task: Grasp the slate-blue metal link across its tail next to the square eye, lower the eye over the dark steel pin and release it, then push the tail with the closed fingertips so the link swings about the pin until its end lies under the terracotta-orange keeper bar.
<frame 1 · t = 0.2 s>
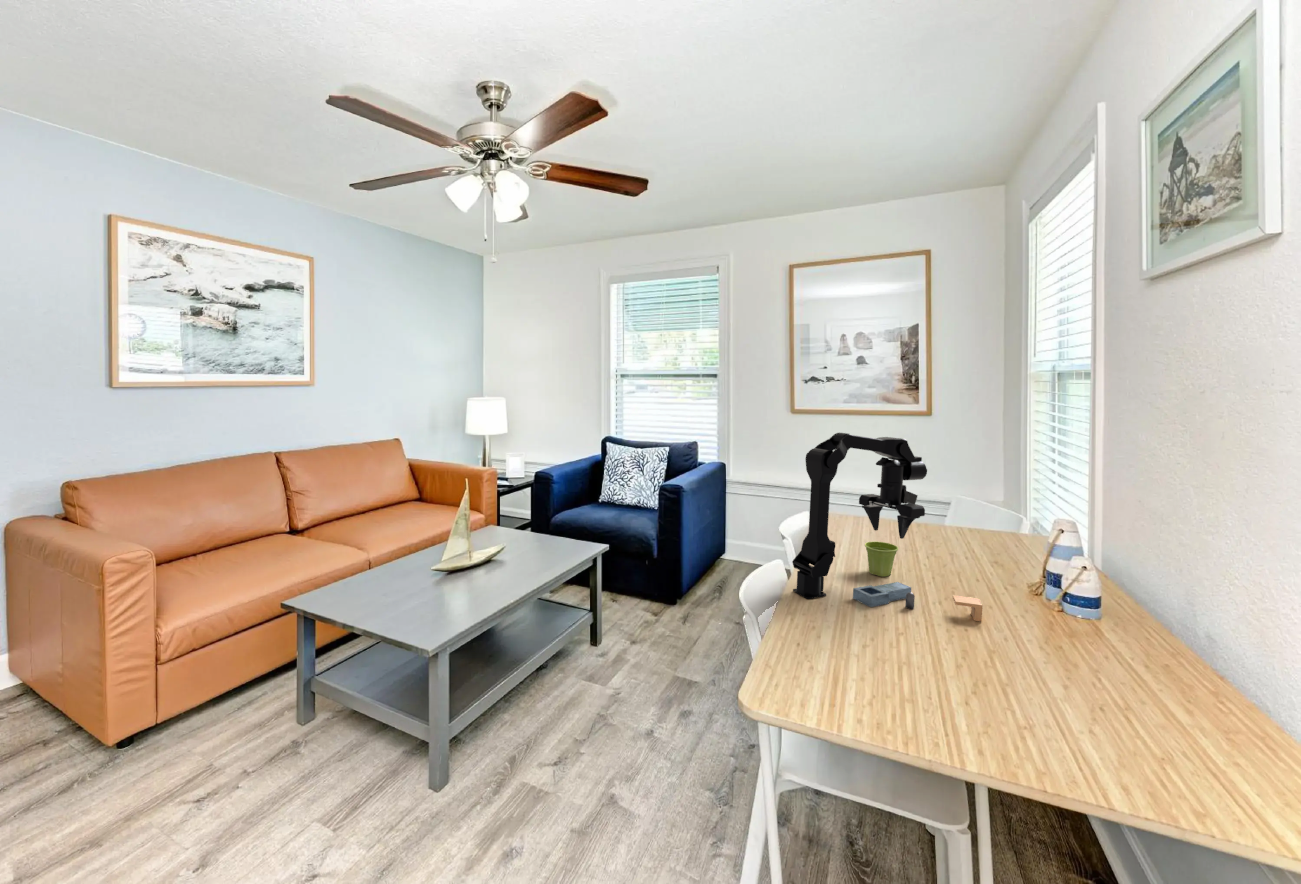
hand: (888, 534, 151), 14 cm above the table, fingers open, 9 cm apart
link: (904, 594, 142), on the table
plant pot: (879, 574, 159), on the table
keeper: (962, 615, 129), on the table
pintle: (909, 607, 134), on the table
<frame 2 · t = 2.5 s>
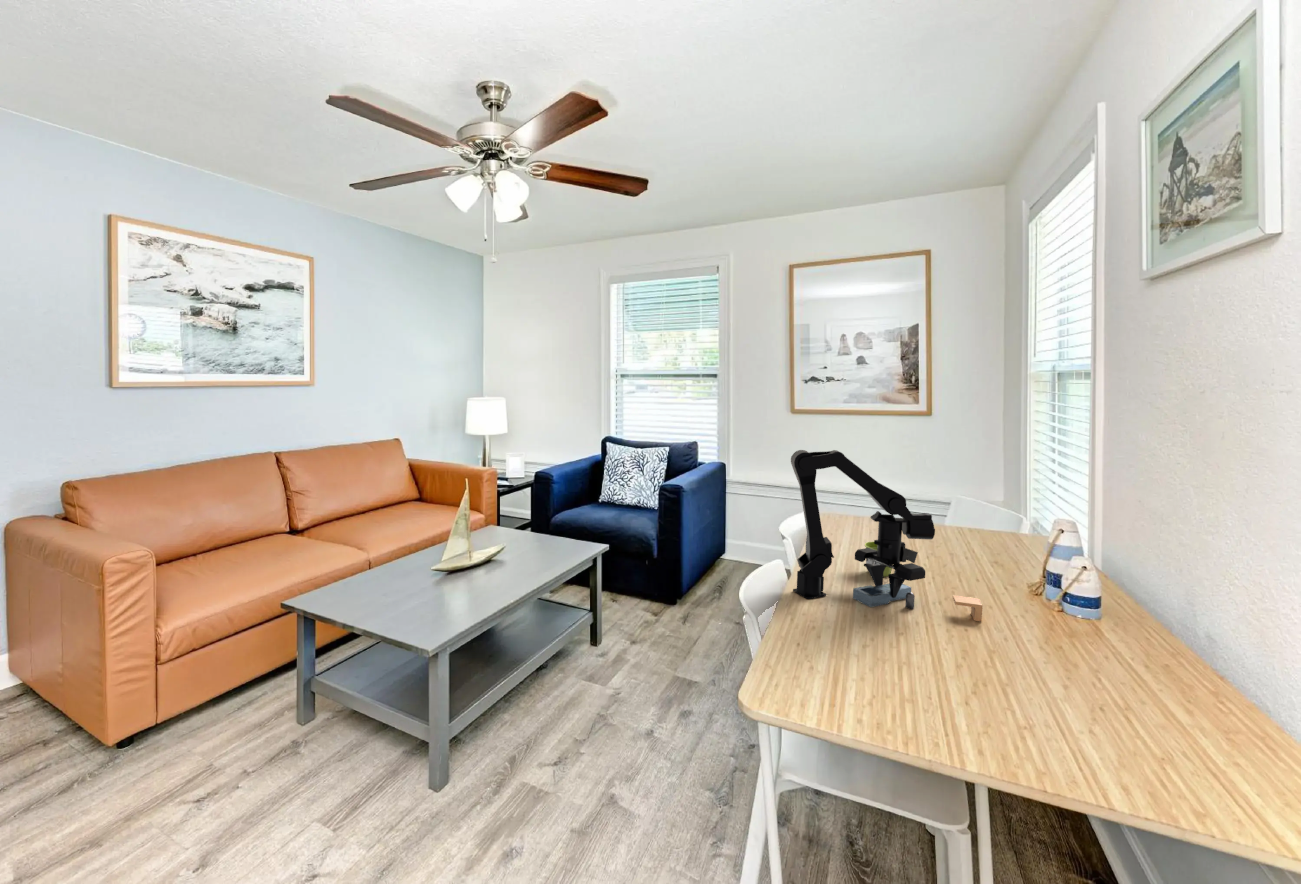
hand: (886, 594, 140), 1 cm above the table, fingers closed on link, 4 cm apart
link: (904, 594, 142), on the table, touching gripper
everything else where it was.
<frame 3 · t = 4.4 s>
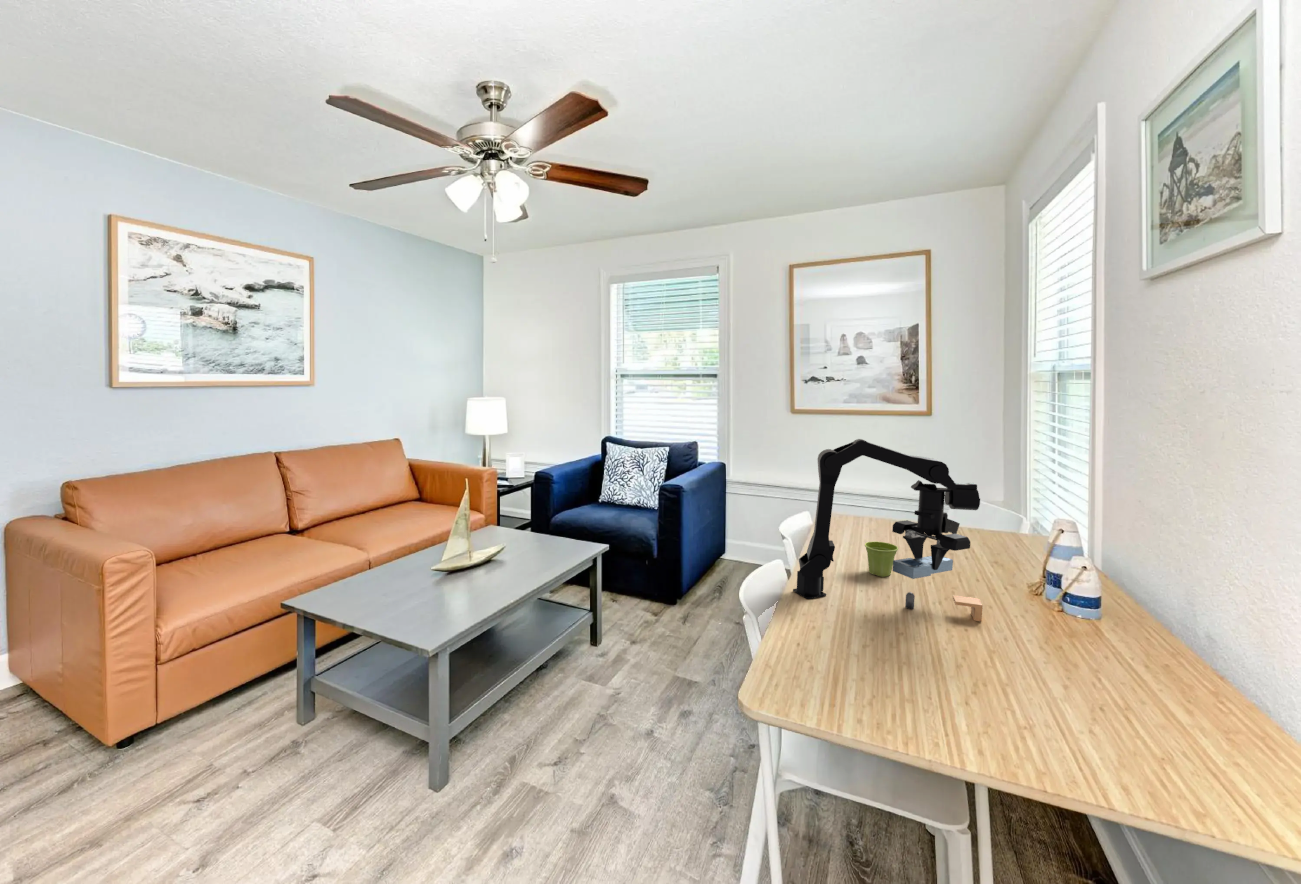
hand: (927, 566, 135), 10 cm above the table, fingers closed on link, 4 cm apart
link: (944, 567, 138), point 9 cm above the table, touching gripper
everything else where it was.
when the fingers open (2 cm above the table, at t = 6.1 s): link drops 1 cm, on the table.
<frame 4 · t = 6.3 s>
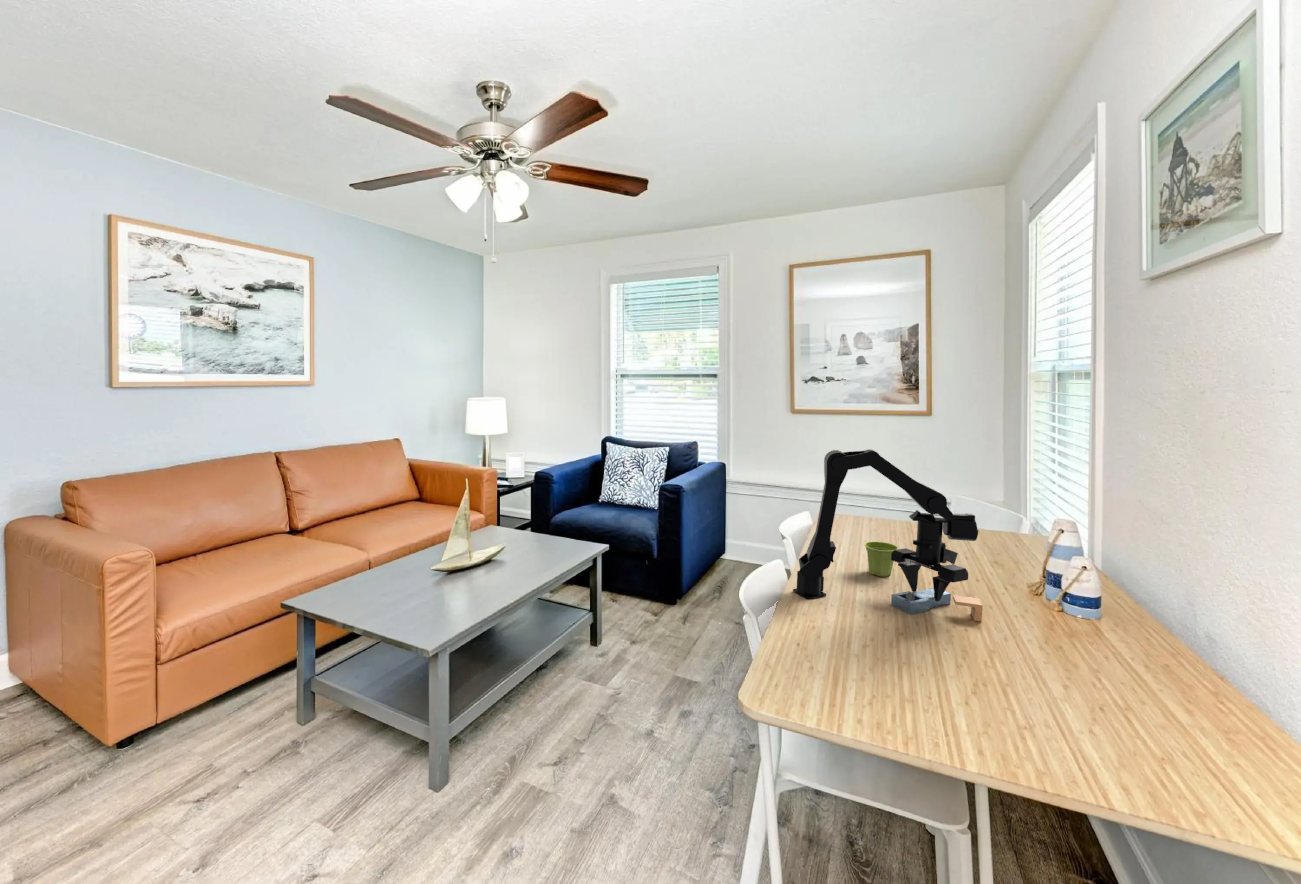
hand: (925, 596, 136), 2 cm above the table, fingers open, 7 cm apart
link: (942, 600, 138), on the table
everything else where it was.
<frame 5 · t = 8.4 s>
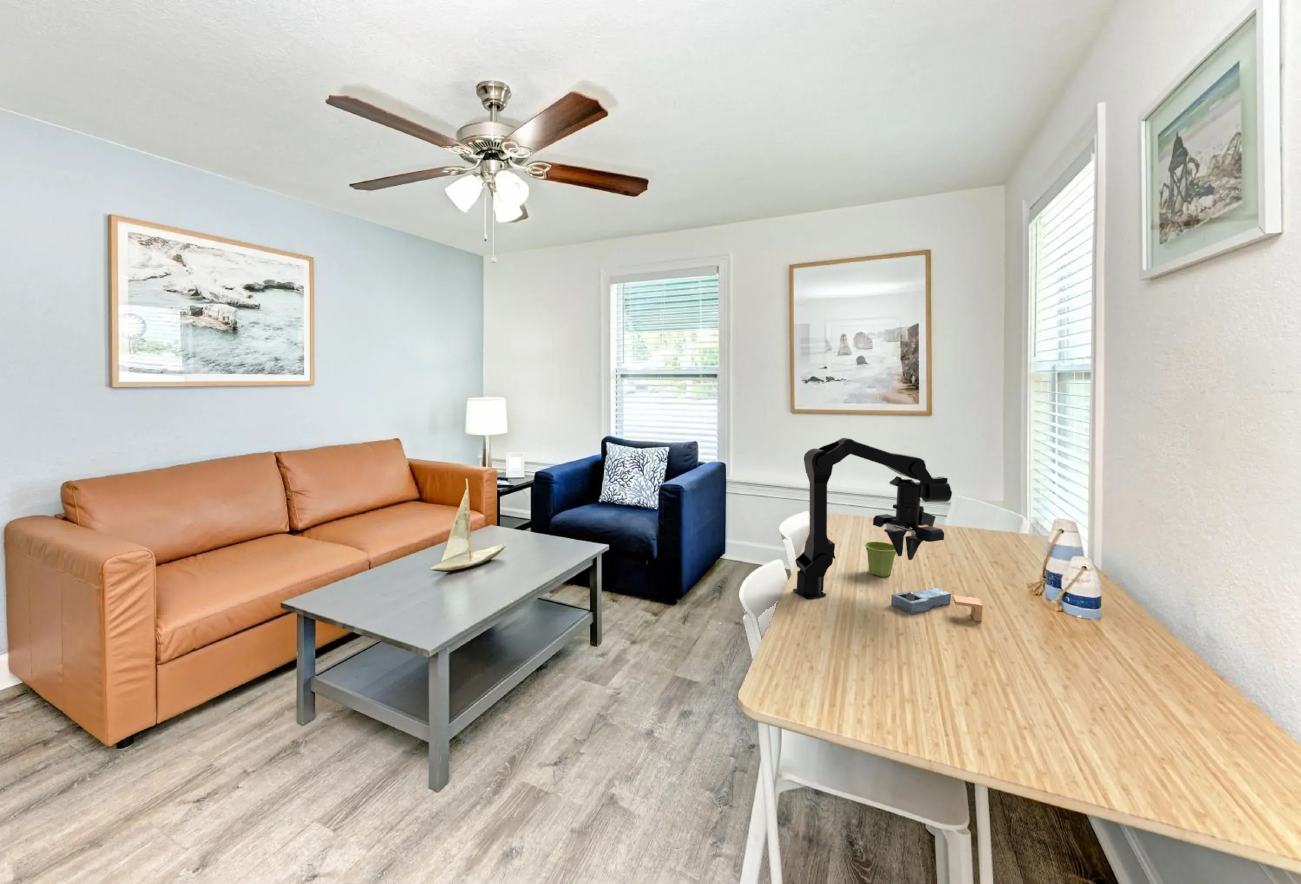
hand: (905, 557, 142), 10 cm above the table, fingers open, 3 cm apart
nothing on the table moved.
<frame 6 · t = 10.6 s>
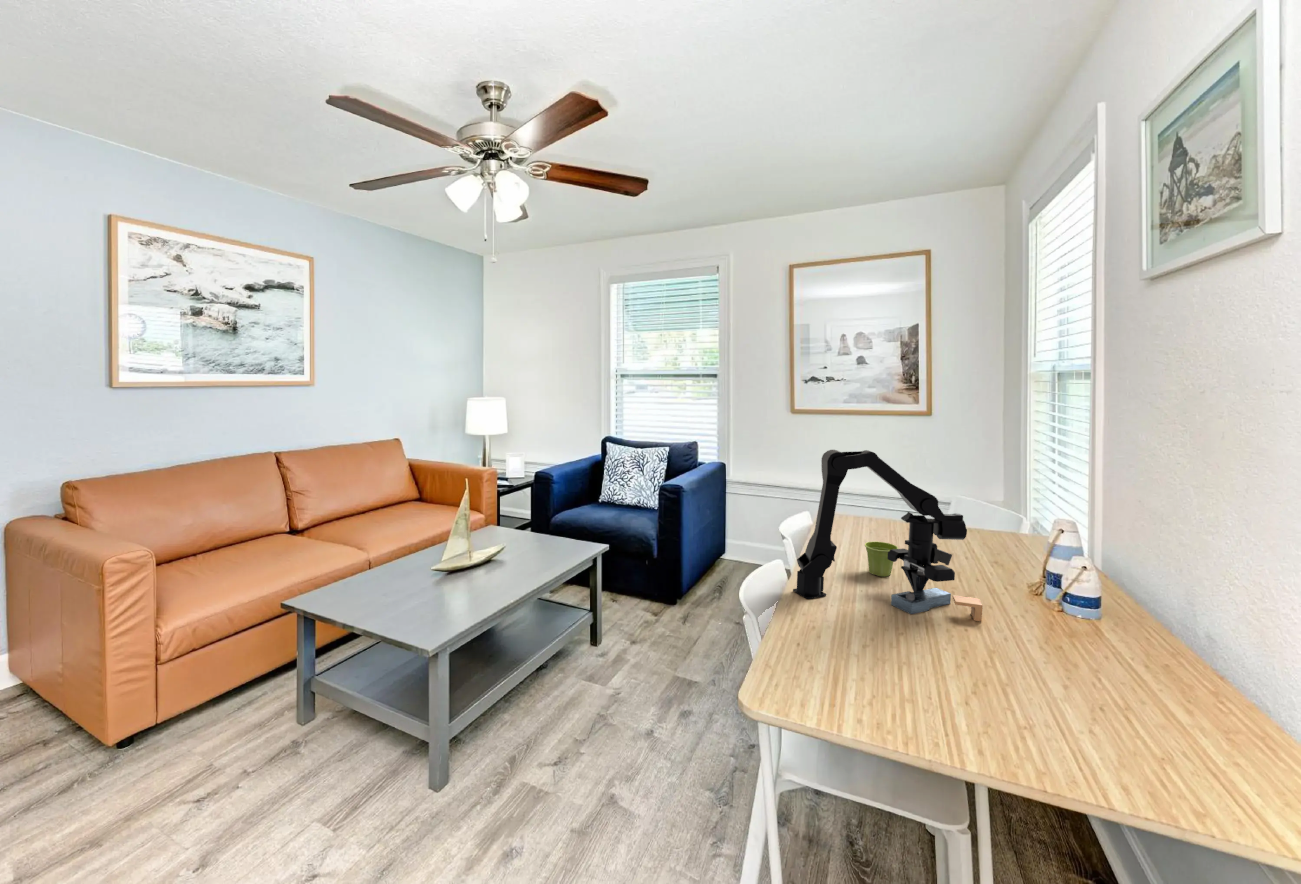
hand: (917, 595, 140), 1 cm above the table, fingers closed
link: (942, 600, 138), on the table, touching gripper
everything else where it was.
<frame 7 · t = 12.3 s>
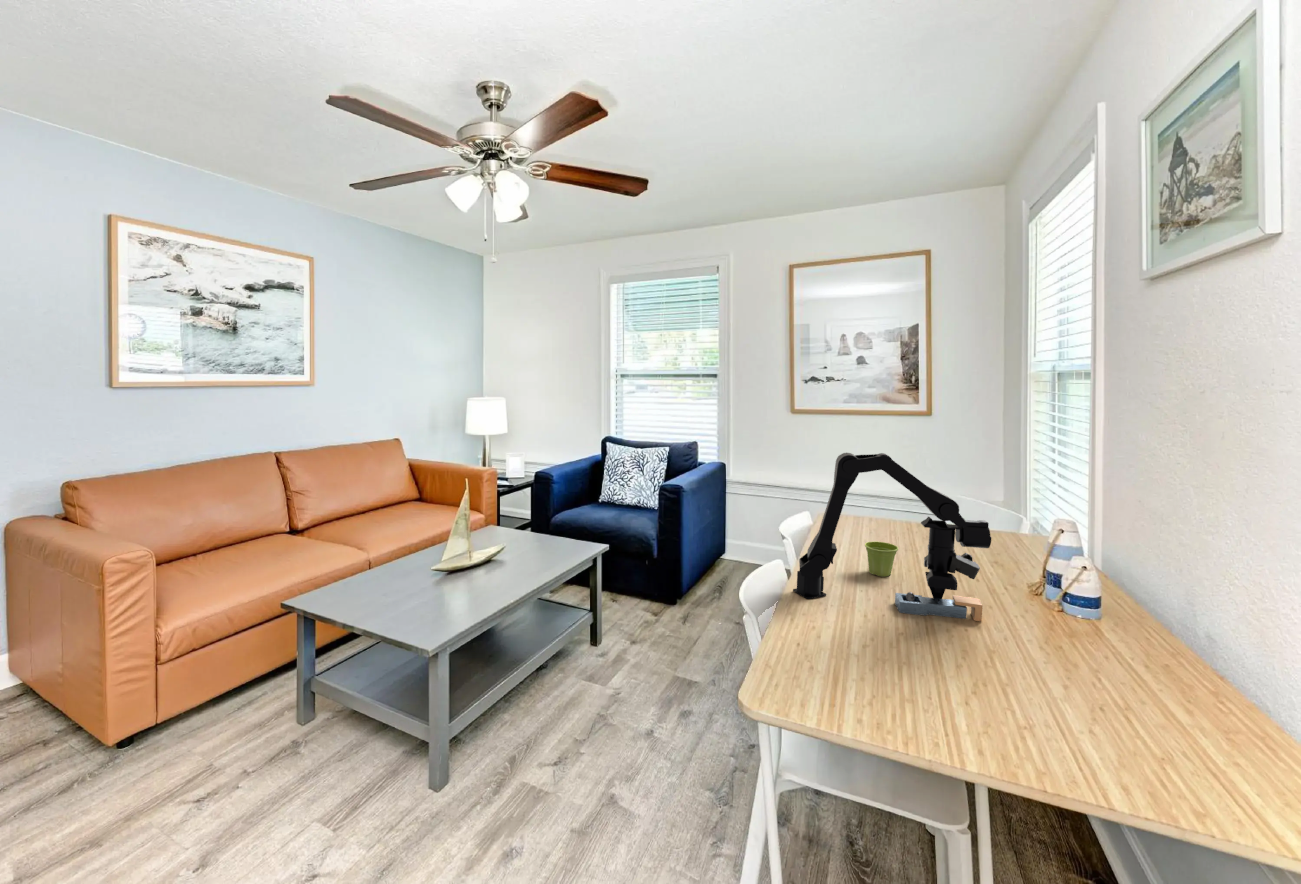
hand: (937, 603, 134), 1 cm above the table, fingers closed
link: (963, 615, 130), on the table, touching gripper, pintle
everything else where it was.
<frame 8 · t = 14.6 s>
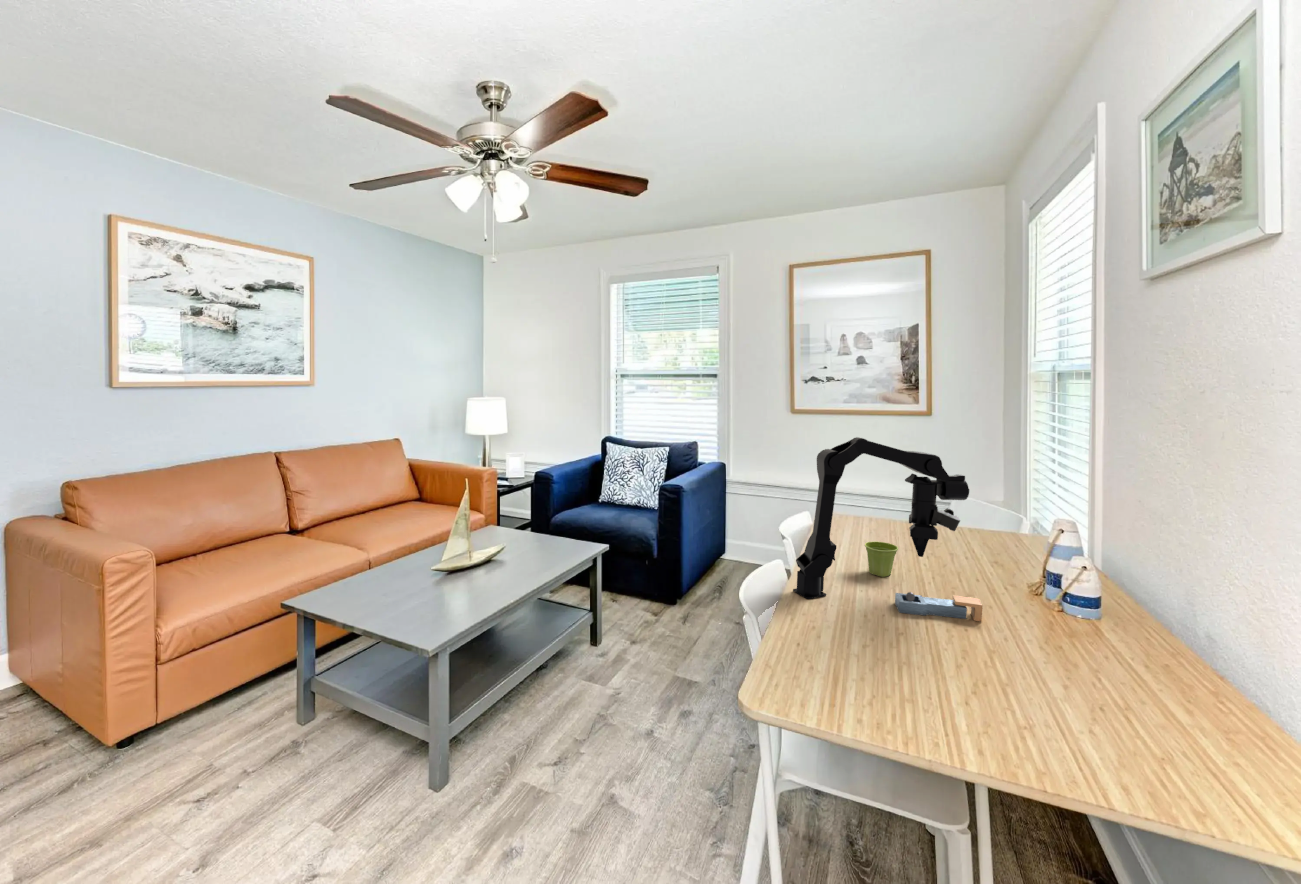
hand: (920, 556, 141), 11 cm above the table, fingers closed
link: (963, 615, 129), on the table
everything else where it was.
at the end: link 0.3 cm from the keeper (horizontally); link on the table; link tilted 0° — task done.
